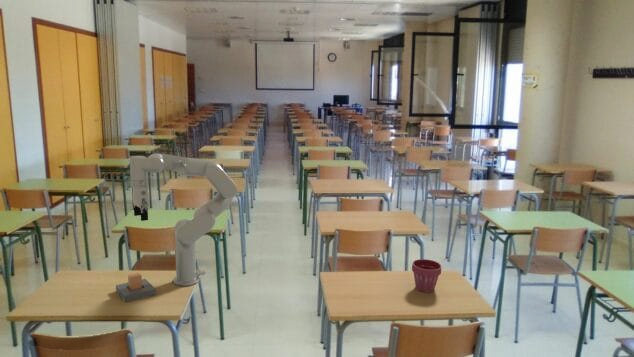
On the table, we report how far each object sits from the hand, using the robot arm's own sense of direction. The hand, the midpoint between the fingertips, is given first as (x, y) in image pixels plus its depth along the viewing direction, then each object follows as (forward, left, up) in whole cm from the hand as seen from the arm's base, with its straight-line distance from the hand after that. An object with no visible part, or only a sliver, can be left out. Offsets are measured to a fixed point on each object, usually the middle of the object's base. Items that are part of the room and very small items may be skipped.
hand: (141, 217), depth 242 cm
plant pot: (-113, +79, -34) cm, 142 cm away
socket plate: (+6, +6, -34) cm, 35 cm away
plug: (+6, +6, -34) cm, 35 cm away
